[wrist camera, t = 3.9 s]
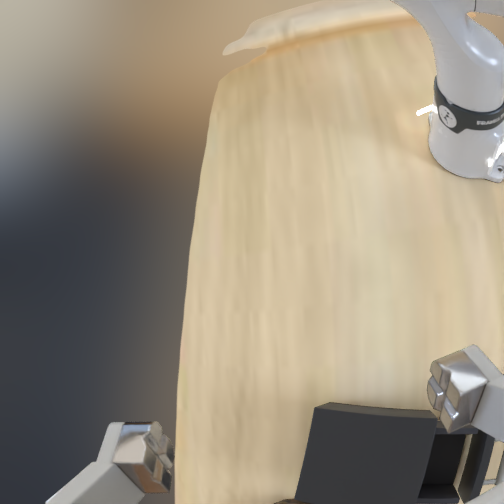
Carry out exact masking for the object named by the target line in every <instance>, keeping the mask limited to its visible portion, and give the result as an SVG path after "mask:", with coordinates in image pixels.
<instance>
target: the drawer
mask: <svg viewBox="0 0 504 504" xmlns="http://www.w3.org/2000/svg"><path fill="white" fill-rule="evenodd" d="M466 434H473V435H472V439H471V444H470V448H469V452H468V456H467V460H466V464H465V468H464V471H463V475H462V478H461V481H460V485H459V488H458V493H459V495H460V497H461V499H462V501H463V503H464V504H465V503H467V502H469V501H471V500H472V499H474V498H476V497H478V496H479V495H480V492H481V488H482V485H488V484H495V485H498V484H500V483H501V482H503V481H504V451H503V455H502V459H501V463H500V466H499V470H498V473H497V477H496V479H487V480H484V479H485V476H486V472H487V469H488V465H489V461H490V457H491V454H492V449H493V445H494V441H499V440H498V439H496V438H494V437H492V436H490V435H489V434H487V433H485V432H483V431H481V430H480V429H478V428H476V427H474V426H472V425H471V424H468V425H466V426H464V427H462V428H460V429H458V430H455V431H453V432H451V433H449V434H448V432H447V431H446V429H445V427H444V426H443V424H442V422H441V421H437V425H436V430H435V435H434V440H433V444H432V448H431V453H430V457H429V461H428V464H427V468H426V472H425V476H424V479H423V482H422V486H421V489H420V492H419V496H418V499H417V502H416V504H458V502H459V499H460V498H459V495H458V493H457V491H456V489H455V487H454V485H453V483H454V479H455V476H456V472H457V469H458V465H459V461H460V457H461V453H462V449H463V445H464V441H465V436H466Z"/></svg>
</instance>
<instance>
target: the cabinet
mask: <svg viewBox="0 0 504 504" xmlns="http://www.w3.org/2000/svg"><path fill="white" fill-rule="evenodd" d="M437 420H438V418H437V417H436V416H435V415H434V414H433V413H432V412H431V411H430V410H407V409H392V408H379V407H368V406H358V405H349V404H340V403H332V402H329V403H327V404H324V405H321V406H318V407H315V408H314V413H313V418H312V424H311V429H310V433H309V438H308V443H307V448H306V452H305V457H304V461H303V465H302V470H301V474H300V478H299V482H298V486H297V490H296V494H295V498H294V500H298V501H302V502H307V503H312V504H416V502H417V499H418V496H419V492H420V489H421V486H422V482H423V479H424V476H425V472H426V468H427V464H428V461H429V457H430V453H431V448H432V444H433V440H434V435H435V430H436V425H437Z"/></svg>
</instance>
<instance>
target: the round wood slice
mask: <svg viewBox="0 0 504 504" xmlns="http://www.w3.org/2000/svg"><path fill="white" fill-rule="evenodd" d="M274 504H312V503H307V502H302V501H298V500H294V499H285V500H282V501H279V502H277V503H274Z"/></svg>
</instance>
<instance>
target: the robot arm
mask: <svg viewBox="0 0 504 504" xmlns="http://www.w3.org/2000/svg"><path fill="white" fill-rule="evenodd" d="M390 1H392V2H394V3H396V4H397V5H399V6H400V7H402V8H403V9H405V10H406V11H407V12H408V13H410V14H411V15H412V16H413V17H414V18H415V19H416V20H417V21H418V22H419V23H420V25H421V26H422V27H423V29H424V30H425V31H426V33H427V35H428V37H429V39H430V41H431V44H432V47H433V52H434V57H435V64H436V74H437V75H436V77H435V81H434V99H433V105H431V106H428V107H426V108H424V109H421V110H419V111H417V115H421V114H423V113H425V112H427V111H430V110H432V112H431V113H430V114H429V124H430V127H431V128H430V133H429V138H428V143H429V148H430V151H431V153H432V155H433V156H434V158H435V159H436V161H437V162H438V163H439V164H440V165H441V166H443V167H444V168H445V169H446V170H448V171H450V172H451V173H453V174H456V175H458V176H461V177H466V178H484V179H487V180H490V181H493V182H497V183H499V182H502V180H503V179H504V46H503V44H502V43H501V42H500V40H499V39H498V38H497V37H496V36H495V35H494V34H493V33H492V32H490V31H489V30H488V29H486V28H485V27H483V26H482V25H480V24H478V23H476V22H475V21H474V20H472V19H471V18H470V17H469V16H468V15H467V13H468V12H479V13H485V14H490V15H495V16H500V17H504V0H390ZM499 170H500V171H501V172H499ZM430 372H431V373H432V377H431V378H430V379H429V381H428V384H427V394H428V398H429V401H430V403H431V405H432V407H433V409H436V410H438V411H440V412H441V413H440V418H439V419H440V421H441V422H442V424H443V426H444V427H445V429H446V431H447V432H448V434H449V433H451V432H453V431H455V430H458V429H460V428H462V427H464V426H466V425H468V424H471V425H472V426H474V427H476V428H478V429H480V430H481V431H483V432H485V433H487V434H489V435H490V436H492V437H494V438H496V439H498V440H499V441H501V442H503V443H504V374H502V373H501V372H500V371H499V370H498V369H497V367H496V366H495V365H494V364H493V363H492V362H491V361H490V360H489V358H488V357H487V356H486V355H485V354H484V353H483V352H482V351H481V350H480V349H479V347H478V346H476V345H474V344H473V345H471V346H468V347H466V348H464V349H462V350H460V351H456V352H454V353H452V354H449V355H447V356H445V357H442V358H440V359H437V360H435V361H433V362H432V364H431V367H430ZM161 433H162V427H161V426H160V425H159V423H158V422H112V423H111V424H110V425H109V426H108V428H107V431H106V434H105V437H104V440H103V443H102V446H101V449H100V452H99V455H98V458H97V461H96V462H92V463H91V464H89V465H88V466H87V467H86V468H85V469H84V470H83V471H81V472H80V473H79V474H78V475H77V476H76V477H75V478H73V479H72V480H71V481H70V482H69V483H68V484H67V485H65V486H64V487H63V488H62V489H61V490H59V491H58V492H57V493H56V494H55V495H53V496H52V497H51V498H50V499H49V500H47V501H46V504H138V503H139V502H140V500H141V499H142V498H143V496H144V495H145V494H144V493H170V487H171V479H172V475H171V474H170V472H169V471H168V470H169V469H170V468H171V467H172V466H173V464H174V457H175V456H174V448H173V445H172V443H171V441H170V439H169V438H168V437H167V436H165V435H163V434H161ZM465 504H504V481H503V482H501V483H500V484H498V485H496V486H495V487H493V488H492V489H490V490H488V491H486V492H485V493H483V494H481V495H480V496H478V497H476V498H474V499H472V500H471V501H469V502H467V503H465Z"/></svg>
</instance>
